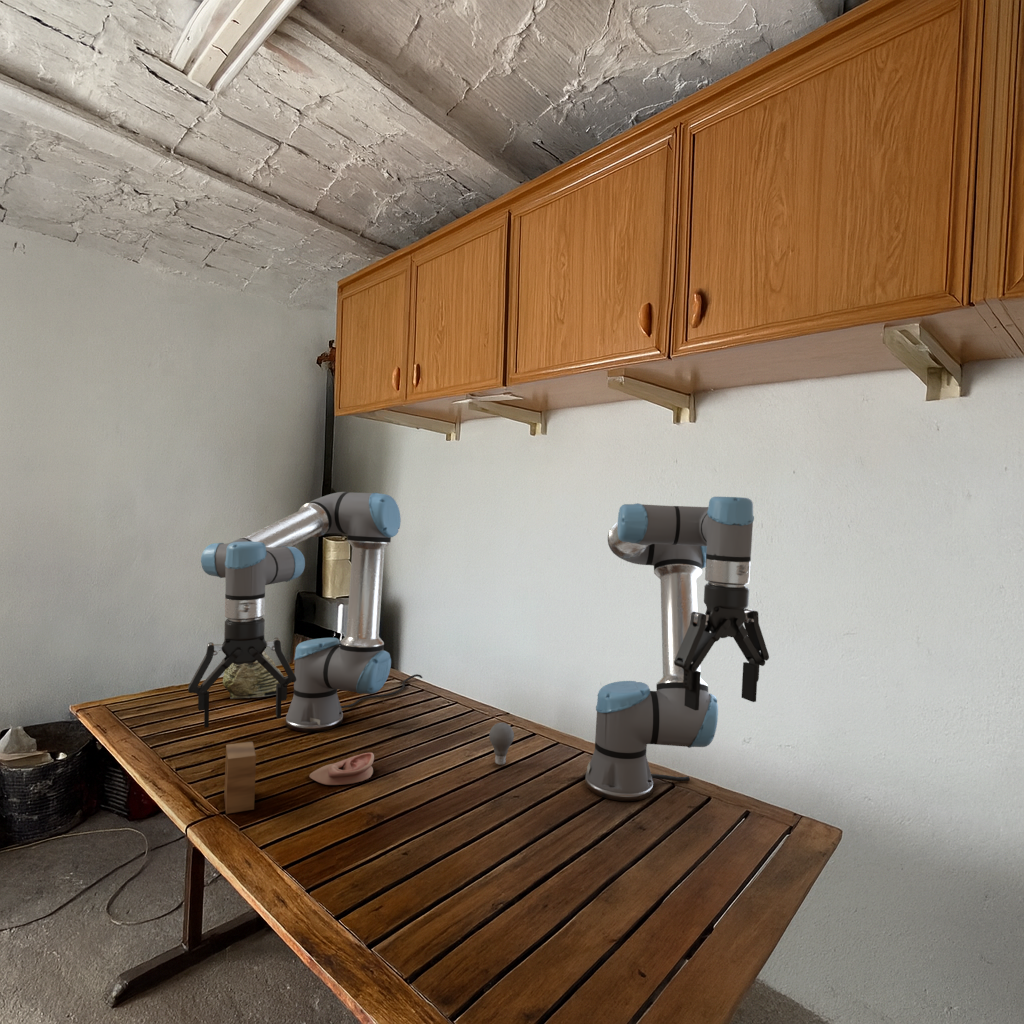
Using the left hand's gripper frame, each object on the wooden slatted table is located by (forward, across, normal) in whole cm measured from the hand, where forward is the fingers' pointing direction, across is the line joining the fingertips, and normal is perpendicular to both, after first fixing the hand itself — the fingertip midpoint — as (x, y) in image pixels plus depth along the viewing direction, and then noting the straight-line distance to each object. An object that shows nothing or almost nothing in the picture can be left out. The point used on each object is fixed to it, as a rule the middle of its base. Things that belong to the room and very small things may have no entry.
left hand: (243, 720), depth 130 cm
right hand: (-13, +74, -57) cm, 94 cm away
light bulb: (+18, +58, -3) cm, 60 cm away
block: (+17, -1, -1) cm, 17 cm away
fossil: (+18, +8, +72) cm, 74 cm away
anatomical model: (+17, +21, +4) cm, 28 cm away
